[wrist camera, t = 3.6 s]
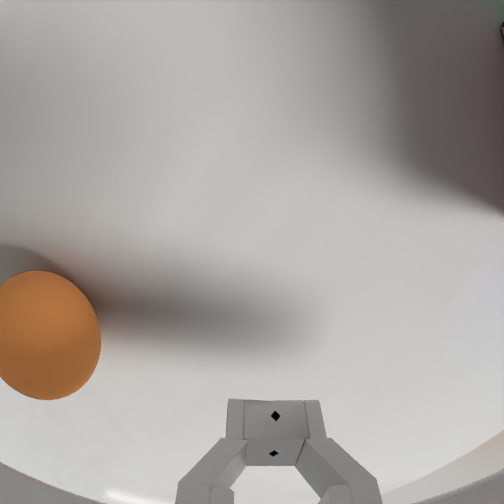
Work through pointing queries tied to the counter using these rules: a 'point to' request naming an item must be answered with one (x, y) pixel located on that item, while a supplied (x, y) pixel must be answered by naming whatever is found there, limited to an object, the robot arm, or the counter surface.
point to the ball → (46, 335)
